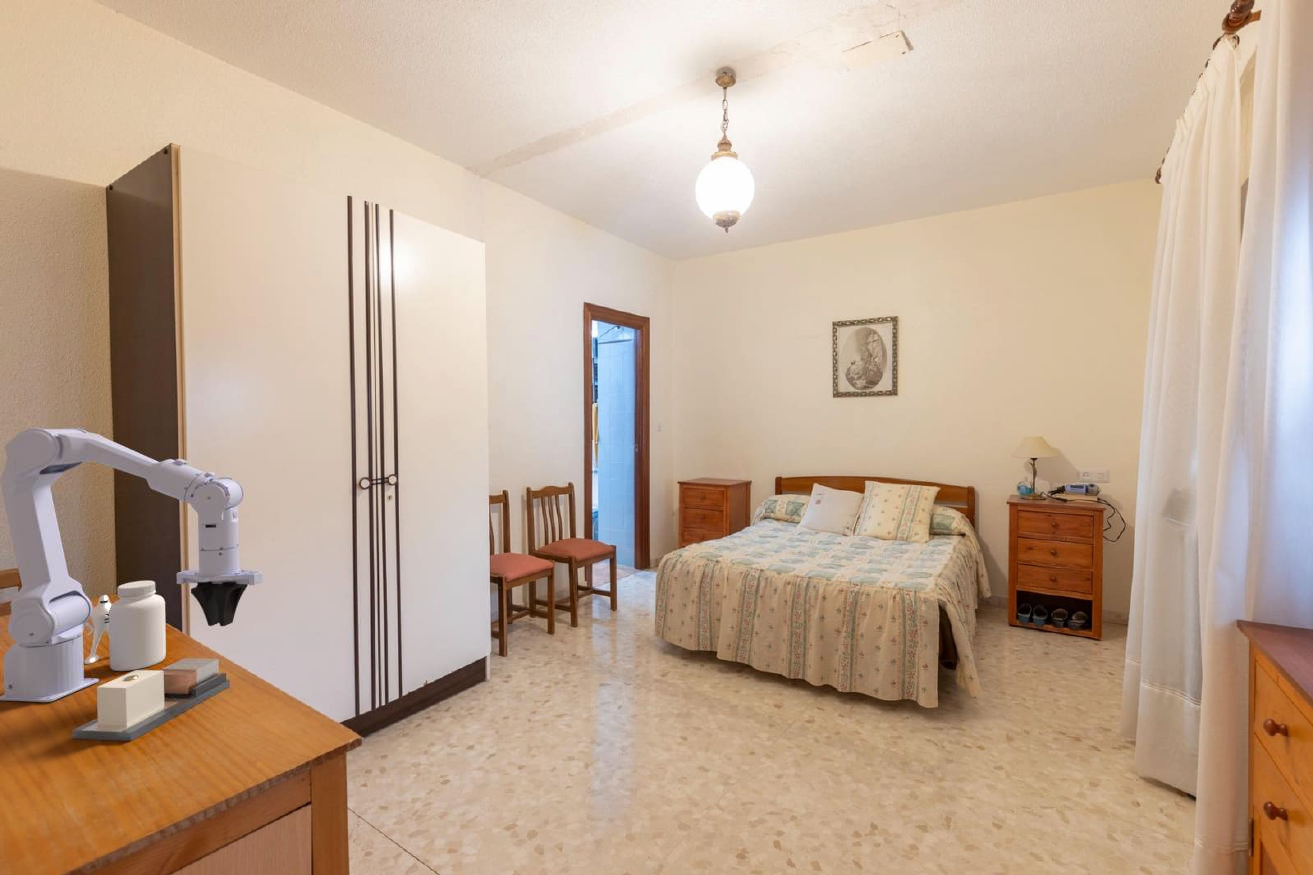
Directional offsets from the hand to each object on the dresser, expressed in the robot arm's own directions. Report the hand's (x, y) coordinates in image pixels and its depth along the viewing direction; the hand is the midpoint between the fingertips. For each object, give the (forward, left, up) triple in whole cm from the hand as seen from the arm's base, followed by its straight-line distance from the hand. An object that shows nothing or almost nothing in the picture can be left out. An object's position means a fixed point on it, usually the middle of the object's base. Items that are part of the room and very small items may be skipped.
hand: (220, 624), depth 105 cm
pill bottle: (-20, +4, -10) cm, 23 cm away
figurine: (-30, +6, -10) cm, 32 cm away
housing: (0, -17, -8) cm, 18 cm away
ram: (0, -7, -8) cm, 11 cm away
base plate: (0, -12, -9) cm, 15 cm away
